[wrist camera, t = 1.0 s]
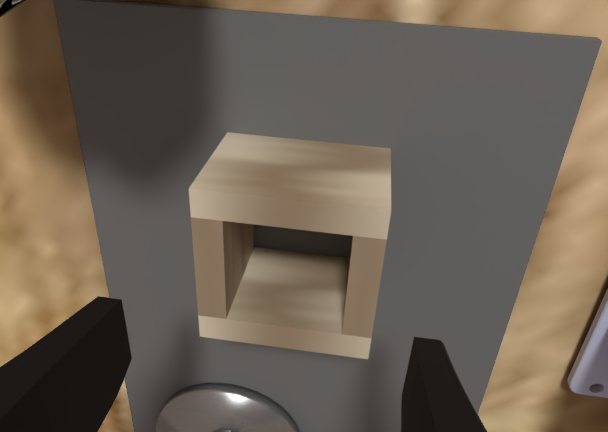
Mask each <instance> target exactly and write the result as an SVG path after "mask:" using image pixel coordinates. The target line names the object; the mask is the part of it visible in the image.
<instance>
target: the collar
mask: <svg viewBox="0 0 608 432" xmlns="http://www.w3.org/2000/svg"><path fill="white" fill-rule="evenodd" d="M189 200H190V214H191V227H192V240H193V253H194V266H195V280H196V293H197V306H198V319H199V332H200V337H207V338H214V339H221V340H229V341H236V342H244V343H251V344H258V345H266V346H273V347H281V348H288V349H295V350H303V351H310V352H317V353H325V354H332V355H340V356H347V357H354V358H362V359H368V357H369V351H370V345H371V338H372V332H373V325H374V319H375V312H376V306H377V300H378V293H379V287H380V280H381V274H382V267H383V261H384V255H385V248H386V242H387V235H388V229H389V223H390V216H391V148H381V147H371V146H361V145H350V144H340V143H330V142H320V141H310V140H300V139H289V138H279V137H269V136H259V135H249V134H239V133H229V132H227V134H226V135H225V136H224V138H223V139H222V141H221V142H220V144H219V145H218V147H217V148H216V150H215V151H214V152H213V154H212V155H211V157H210V158H209V160H208V161H207V163H206V164H205V166H204V167H203V168H202V170H201V171H200V173H199V174H198V176H197V177H196V179H195V180H194V182H193V183H192V184H191V186H190V187H189ZM254 225H263V226H272V227H281V228H289V229H298V230H307V231H316V232H324V233H333V234H342V235H351V236H352V245H351V253H350V258H344V257H335V256H327V255H318V254H310V253H301V252H293V251H285V250H276V249H268V248H259V247H254Z"/></svg>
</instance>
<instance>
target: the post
mask: <svg viewBox="0 0 608 432" xmlns="http://www.w3.org/2000/svg"><path fill="white" fill-rule="evenodd" d="M156 429H157V432H300V430H299V428H298V426H297V424H296V422H295V421H294V419H293V418H292V416H291V415H290V414H289V413H288V412H287V411H286V410H285V409H284V408H283V407H282V406H281V405H279V404H278V403H277V402H275V401H274V400H272V399H271V398H269V397H267V396H265V395H263V394H261V393H259V392H257V391H254V390H252V389H249V388H246V387H242V386H239V385H234V384H229V383H200V384H195V385H191V386H188V387H185V388H183V389H181V390H179V391H177V392H176V393H174V394H173V395H172V396H171V397H170V398H169V399H168V400H167V401H166V403H165V404H164V406H163V408H162V411H161V413H160V415H159V418H158V420H157V426H156Z"/></svg>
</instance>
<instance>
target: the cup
mask: <svg viewBox="0 0 608 432" xmlns="http://www.w3.org/2000/svg"><path fill="white" fill-rule="evenodd" d="M24 1H26V0H0V17H1V16H3V15H5V14H6V13H8V12H9V11H11V10H12V9H14V8H15V7H17V6H18V5H20V4H21V3H22V2H24Z"/></svg>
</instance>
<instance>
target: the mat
mask: <svg viewBox="0 0 608 432" xmlns="http://www.w3.org/2000/svg"><path fill="white" fill-rule="evenodd" d="M54 5H55V10H56V15H57V21H58V26H59V31H60V37H61V42H62V47H63V53H64V58H65V63H66V69H67V74H68V79H69V85H70V90H71V95H72V101H73V106H74V111H75V117H76V122H77V127H78V133H79V138H80V143H81V149H82V154H83V159H84V165H85V170H86V175H87V181H88V186H89V191H90V196H91V202H92V207H93V212H94V218H95V223H96V228H97V234H98V239H99V244H100V250H101V255H102V260H103V266H104V271H105V276H106V282H107V287H108V292H109V298H114V299H122V304H123V310H124V316H125V321H126V327H127V333H128V339H129V344H130V350H131V356H132V359H131V362H130V365H129V367H128V370H127V372H126V375H125V383H126V388H127V394H128V399H129V404H130V410H131V415H132V420H133V426H134V431H135V432H157V429H156V426H157V420H158V418H159V415H160V413H161V411H162V408H163V406H164V404H165V403H166V401H167V400H168V399H169V398H170V397H171V396H172V395H173V394H174V393H176V392H177V391H179V390H181V389H183V388H185V387H188V386H191V385H195V384H200V383H229V384H234V385H239V386H242V387H246V388H249V389H252V390H254V391H257V392H259V393H261V394H263V395H265V396H267V397H269V398H271V399H272V400H274V401H275V402H277V403H278V404H279V405H281V406H282V407H283V408H284V409H285V410H286V411H287V412H288V413H289V414H290V415H291V416H292V418H293V419H294V421H295V422H296V424H297V426H298V428H299V430H300V432H401V402H402V391H403V387H404V382H405V377H406V373H407V368H408V363H409V358H410V354H411V349H412V344H413V340H414V337H420V338H428V339H436V340H441V341H442V343H443V344H444V346H445V348H446V351H447V353H448V356H449V358H450V360H451V363H452V365H453V367H454V369H455V371H456V374H457V376H458V378H459V380H460V382H461V384H462V386H463V388H464V390H465V392H466V394H467V396H468V398H469V400H470V402H471V404H472V405H473V407H474V409H475V411H476V413H477V414H478V411H479V408H480V405H481V402H482V399H483V396H484V393H485V390H486V387H487V384H488V381H489V378H490V375H491V372H492V369H493V366H494V363H495V360H496V357H497V354H498V351H499V348H500V345H501V342H502V339H503V336H504V333H505V330H506V327H507V324H508V321H509V318H510V315H511V312H512V309H513V306H514V303H515V300H516V297H517V294H518V291H519V288H520V285H521V282H522V279H523V276H524V273H525V270H526V267H527V264H528V261H529V258H530V255H531V252H532V249H533V246H534V243H535V240H536V237H537V234H538V231H539V228H540V225H541V222H542V219H543V216H544V213H545V210H546V207H547V204H548V201H549V198H550V195H551V192H552V189H553V186H554V183H555V180H556V177H557V174H558V171H559V168H560V165H561V162H562V159H563V156H564V153H565V150H566V147H567V144H568V141H569V138H570V135H571V132H572V129H573V126H574V123H575V120H576V117H577V114H578V111H579V108H580V105H581V102H582V99H583V96H584V93H585V90H586V87H587V84H588V81H589V78H590V75H591V72H592V69H593V66H594V63H595V60H596V57H597V54H598V51H599V48H600V45H601V42H602V41H601V40H600V39H598V38H595V37H582V36H569V35H556V34H543V33H529V32H516V31H503V30H490V29H477V28H464V27H451V26H438V25H425V24H412V23H399V22H386V21H373V20H360V19H347V18H334V17H321V16H308V15H295V14H282V13H269V12H256V11H243V10H230V9H217V8H203V7H190V6H177V5H164V4H151V3H138V2H125V1H112V0H54ZM227 132H229V133H239V134H249V135H259V136H269V137H279V138H289V139H300V140H310V141H320V142H330V143H340V144H350V145H361V146H371V147H381V148H391V216H390V223H389V229H388V235H387V242H386V248H385V255H384V261H383V267H382V274H381V280H380V287H379V293H378V300H377V306H376V312H375V319H374V325H373V332H372V338H371V345H370V351H369V357H368V359H362V358H354V357H347V356H340V355H332V354H325V353H317V352H310V351H303V350H295V349H288V348H281V347H273V346H266V345H258V344H251V343H244V342H236V341H229V340H221V339H214V338H207V337H200V332H199V319H198V306H197V293H196V280H195V266H194V253H193V240H192V227H191V214H190V200H189V187H190V186H191V184H192V183H193V182H194V180H195V179H196V177H197V176H198V174H199V173H200V171H201V170H202V168H203V167H204V166H205V164H206V163H207V161H208V160H209V158H210V157H211V155H212V154H213V152H214V151H215V150H216V148H217V147H218V145H219V144H220V142H221V141H222V139H223V138H224V136H225V135H226V134H227ZM351 245H352V236H351V235H342V234H333V233H324V232H316V231H307V230H298V229H289V228H281V227H272V226H263V225H254V247H259V248H268V249H276V250H285V251H293V252H301V253H310V254H318V255H327V256H335V257H344V258H350V253H351Z"/></svg>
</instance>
